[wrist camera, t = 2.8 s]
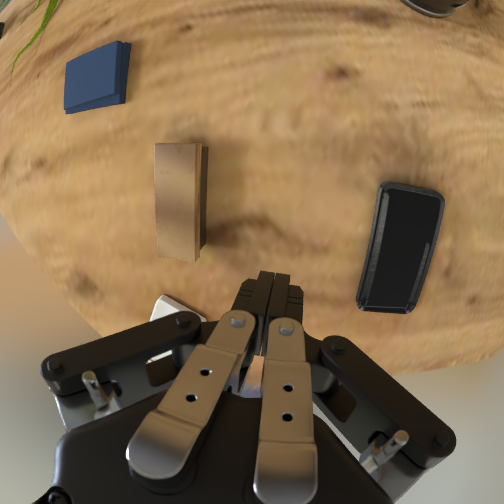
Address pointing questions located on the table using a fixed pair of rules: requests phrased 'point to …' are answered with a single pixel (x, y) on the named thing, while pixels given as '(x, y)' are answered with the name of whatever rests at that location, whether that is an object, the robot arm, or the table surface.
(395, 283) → the phone
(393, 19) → the table surface
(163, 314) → the phone case
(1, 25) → the ink cartridge
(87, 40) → the table surface
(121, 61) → the folded cloth
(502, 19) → the table surface
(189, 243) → the tan two-tone block
